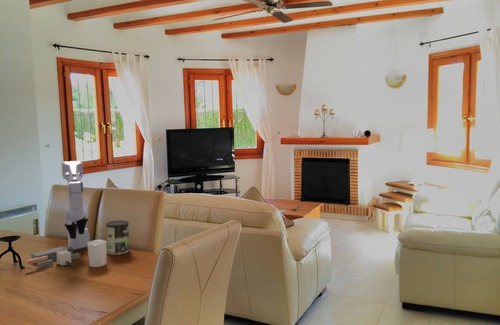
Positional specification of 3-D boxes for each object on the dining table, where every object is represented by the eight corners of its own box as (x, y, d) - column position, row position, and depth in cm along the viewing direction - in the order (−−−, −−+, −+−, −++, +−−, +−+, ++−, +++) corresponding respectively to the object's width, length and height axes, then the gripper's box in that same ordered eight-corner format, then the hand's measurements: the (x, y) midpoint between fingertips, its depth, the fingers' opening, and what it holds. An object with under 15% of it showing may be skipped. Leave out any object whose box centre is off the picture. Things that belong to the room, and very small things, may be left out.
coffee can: (132, 248, 198) (131, 220, 197) (125, 254, 188) (124, 225, 187) (111, 248, 199) (110, 220, 197) (103, 254, 188) (102, 225, 187)
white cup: (110, 261, 178) (109, 240, 177) (102, 268, 171) (101, 245, 170) (93, 261, 179) (92, 239, 178) (84, 267, 171) (83, 244, 170)
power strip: (67, 252, 192) (66, 245, 191) (79, 258, 183) (79, 250, 183) (26, 262, 178) (26, 254, 178) (38, 268, 170) (38, 260, 169)
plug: (67, 260, 179) (66, 249, 179) (79, 266, 172) (78, 254, 172) (56, 263, 176) (56, 251, 175) (68, 269, 169) (67, 257, 168)
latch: (46, 258, 173) (46, 255, 173) (48, 259, 172) (47, 256, 172) (27, 263, 167) (26, 260, 167) (28, 264, 166) (28, 260, 166)
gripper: (75, 204, 192) (76, 231, 193) (59, 210, 178) (60, 240, 179) (89, 204, 191) (90, 232, 193) (74, 210, 177) (75, 240, 178)
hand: (77, 236), depth 186 cm, fingers open, 7 cm apart
